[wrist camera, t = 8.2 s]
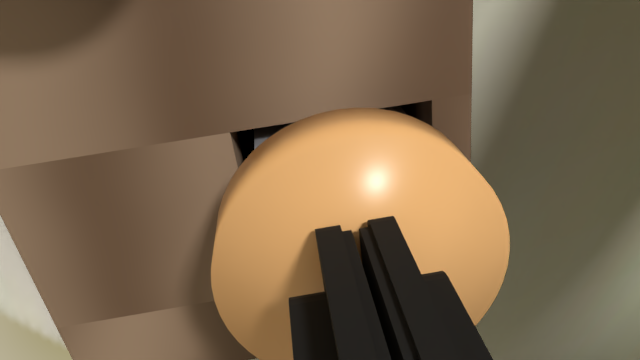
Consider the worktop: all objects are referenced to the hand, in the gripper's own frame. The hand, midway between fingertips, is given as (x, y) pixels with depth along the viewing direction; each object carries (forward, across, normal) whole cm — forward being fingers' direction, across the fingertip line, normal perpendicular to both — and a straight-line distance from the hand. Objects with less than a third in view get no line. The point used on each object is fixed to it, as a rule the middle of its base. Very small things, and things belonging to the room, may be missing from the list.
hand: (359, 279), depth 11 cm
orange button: (+7, 0, 0) cm, 7 cm away
